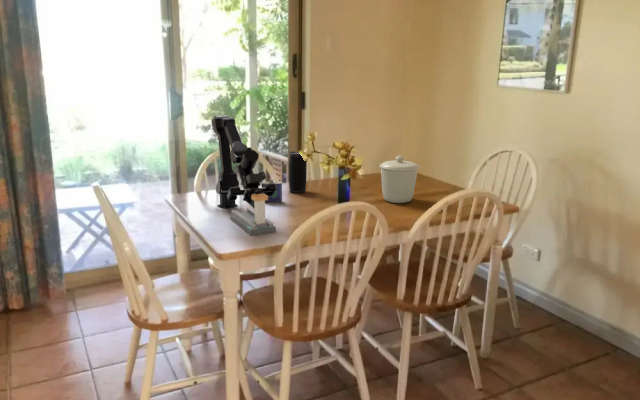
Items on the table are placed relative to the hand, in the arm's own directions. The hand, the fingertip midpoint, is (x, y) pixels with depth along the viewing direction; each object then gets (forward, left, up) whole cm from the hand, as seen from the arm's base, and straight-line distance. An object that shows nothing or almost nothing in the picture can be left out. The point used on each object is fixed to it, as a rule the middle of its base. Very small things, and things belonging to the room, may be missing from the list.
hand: (258, 210), depth 204 cm
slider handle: (+2, -1, -5) cm, 6 cm away
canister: (+20, +73, -8) cm, 76 cm away
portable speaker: (-26, +56, -8) cm, 62 cm away
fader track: (-6, +3, -8) cm, 10 cm away
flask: (-23, +34, -8) cm, 42 cm away
